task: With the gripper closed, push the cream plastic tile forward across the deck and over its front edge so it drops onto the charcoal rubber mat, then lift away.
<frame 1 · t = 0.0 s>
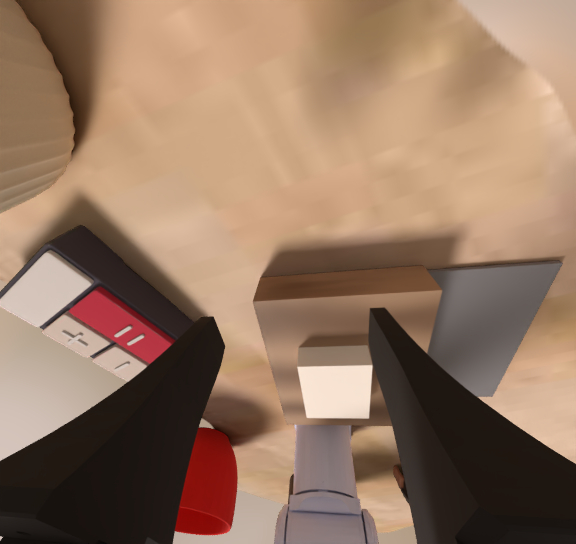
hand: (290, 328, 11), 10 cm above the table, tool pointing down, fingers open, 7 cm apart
deck: (340, 345, 26), on the table
mat: (463, 341, 24), on the table
tile: (333, 374, 23), point 3 cm above the table, touching deck
ceramic cup: (207, 440, 41), on the table
calculator: (123, 303, 26), on the table
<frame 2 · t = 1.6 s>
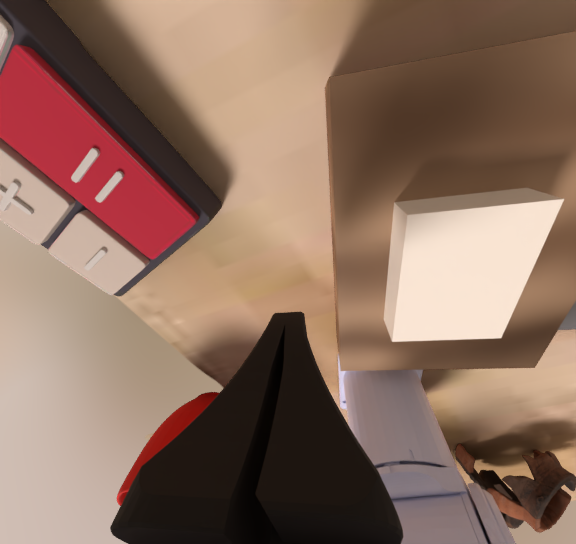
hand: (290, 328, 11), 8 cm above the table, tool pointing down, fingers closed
deck: (434, 238, 17), on the table
pottery mug: (492, 450, 32), on the table
tile: (442, 265, 14), point 3 cm above the table, touching deck
ceramic cup: (218, 412, 32), on the table
calculator: (94, 162, 16), on the table
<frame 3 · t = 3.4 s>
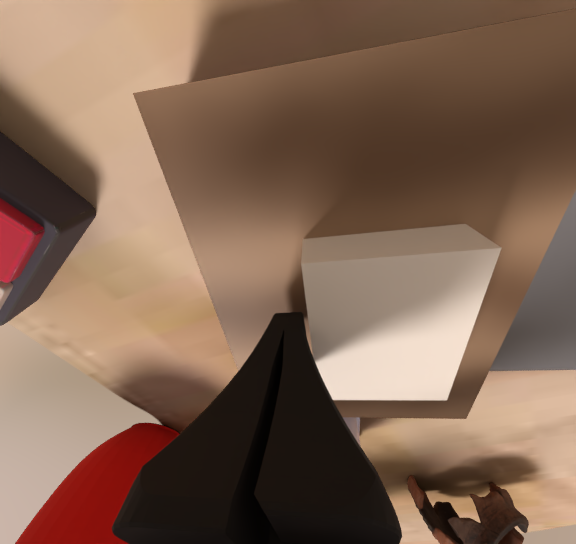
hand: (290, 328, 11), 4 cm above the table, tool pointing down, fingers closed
deck: (347, 273, 14), on the table
pottery mug: (447, 481, 29), on the table
tile: (375, 310, 11), point 4 cm above the table, touching deck, gripper
ceramic cup: (158, 441, 30), on the table
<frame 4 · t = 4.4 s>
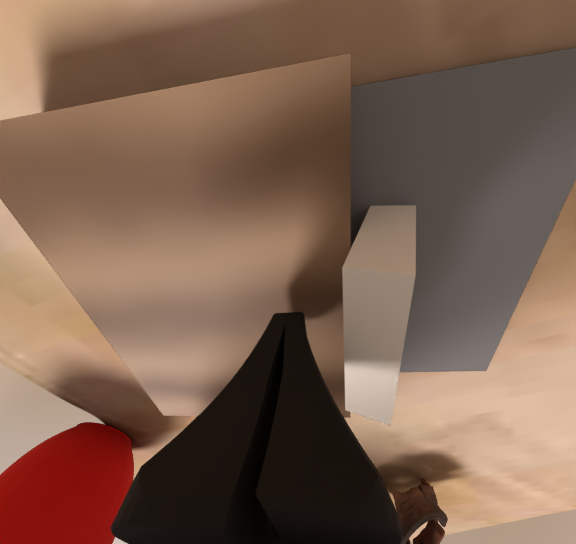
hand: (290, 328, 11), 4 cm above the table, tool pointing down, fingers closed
deck: (231, 281, 15), on the table
mat: (434, 267, 14), on the table
pottery mug: (383, 478, 30), on the table
tile: (358, 306, 12), point 3 cm above the table, tilted 71°, touching mat
ceramic cup: (106, 440, 31), on the table
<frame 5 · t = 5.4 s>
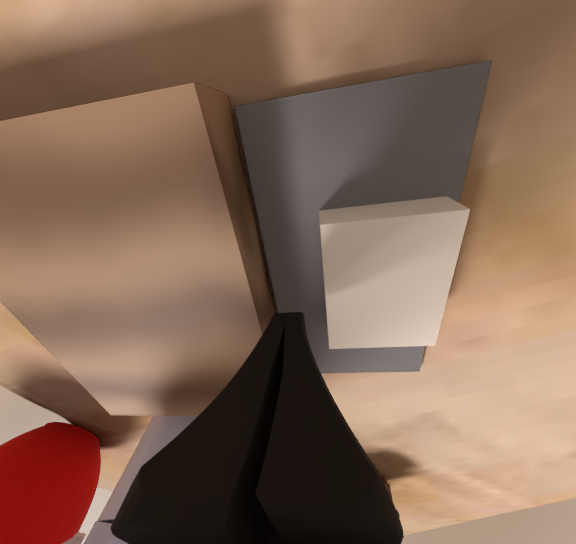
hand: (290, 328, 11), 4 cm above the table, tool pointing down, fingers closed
deck: (166, 286, 16), on the table
mat: (352, 272, 14), on the table
tile: (385, 293, 12), point 2 cm above the table, tilted 180°, touching mat
ceramic cup: (76, 440, 31), on the table
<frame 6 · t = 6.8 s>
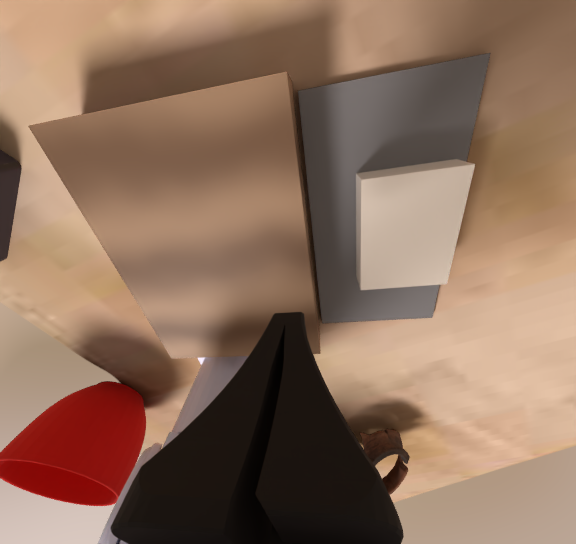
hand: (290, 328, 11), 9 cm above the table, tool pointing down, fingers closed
deck: (223, 244, 20), on the table
mat: (378, 227, 18), on the table
pottery mug: (359, 430, 35), on the table
tile: (408, 237, 16), point 2 cm above the table, tilted 180°, touching mat
ceramic cup: (121, 400, 35), on the table
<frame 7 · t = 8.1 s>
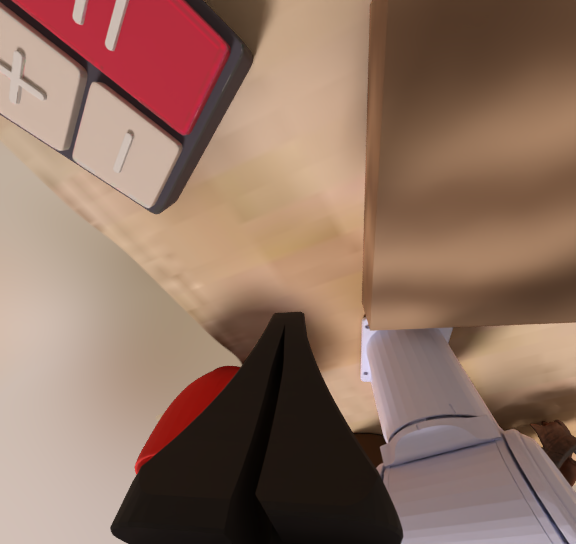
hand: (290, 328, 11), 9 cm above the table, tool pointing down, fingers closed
deck: (474, 184, 16), on the table
olive oil: (364, 446, 37), on the table
pottery mug: (499, 423, 31), on the table
ceramic cup: (232, 389, 31), on the table
calculator: (103, 51, 14), on the table
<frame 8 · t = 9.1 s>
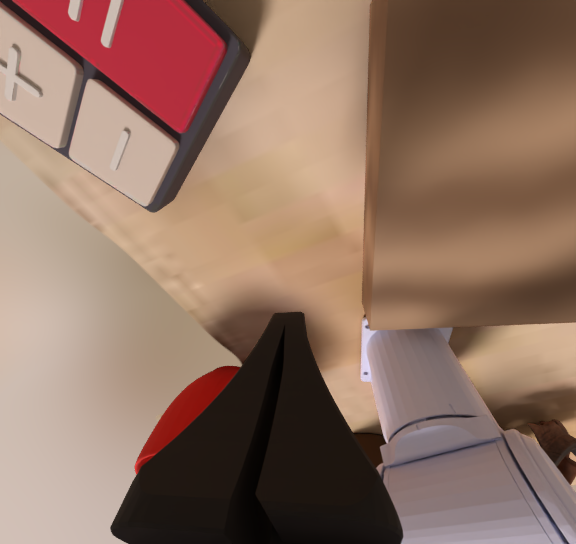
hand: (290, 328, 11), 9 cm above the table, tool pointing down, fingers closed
deck: (474, 184, 16), on the table
olive oil: (364, 446, 37), on the table
pottery mug: (497, 423, 31), on the table
ceramic cup: (232, 389, 31), on the table
calculator: (100, 48, 14), on the table
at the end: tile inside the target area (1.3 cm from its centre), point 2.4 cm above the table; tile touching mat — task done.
